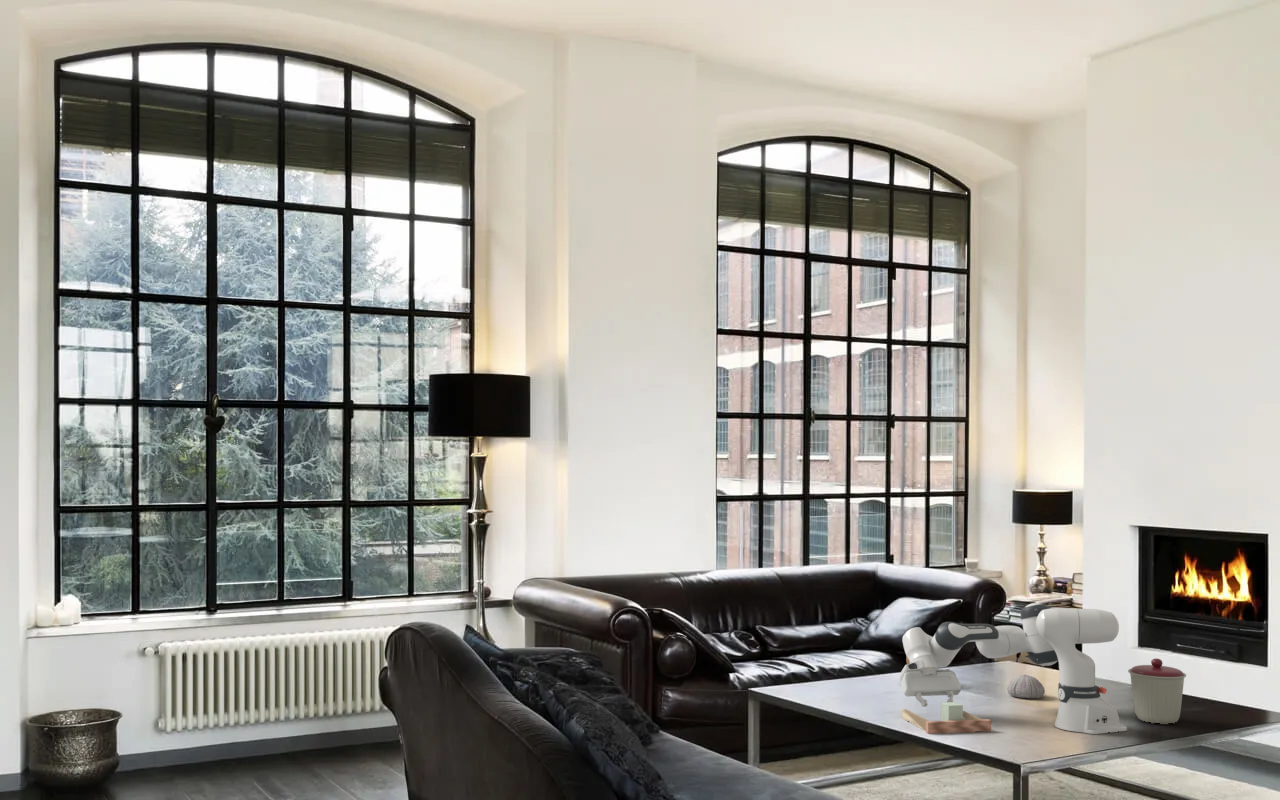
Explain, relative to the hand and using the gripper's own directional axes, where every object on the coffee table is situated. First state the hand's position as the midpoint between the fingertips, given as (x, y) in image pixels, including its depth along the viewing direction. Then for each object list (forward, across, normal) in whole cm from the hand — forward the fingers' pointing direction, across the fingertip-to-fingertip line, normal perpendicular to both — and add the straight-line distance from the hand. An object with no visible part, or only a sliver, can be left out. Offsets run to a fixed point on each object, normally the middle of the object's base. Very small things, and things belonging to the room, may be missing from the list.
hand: (938, 705), depth 393 cm
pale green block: (+10, 0, +2) cm, 11 cm away
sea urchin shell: (-20, -52, -30) cm, 63 cm away
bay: (+7, 0, -1) cm, 7 cm away
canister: (+11, -75, +3) cm, 76 cm away
